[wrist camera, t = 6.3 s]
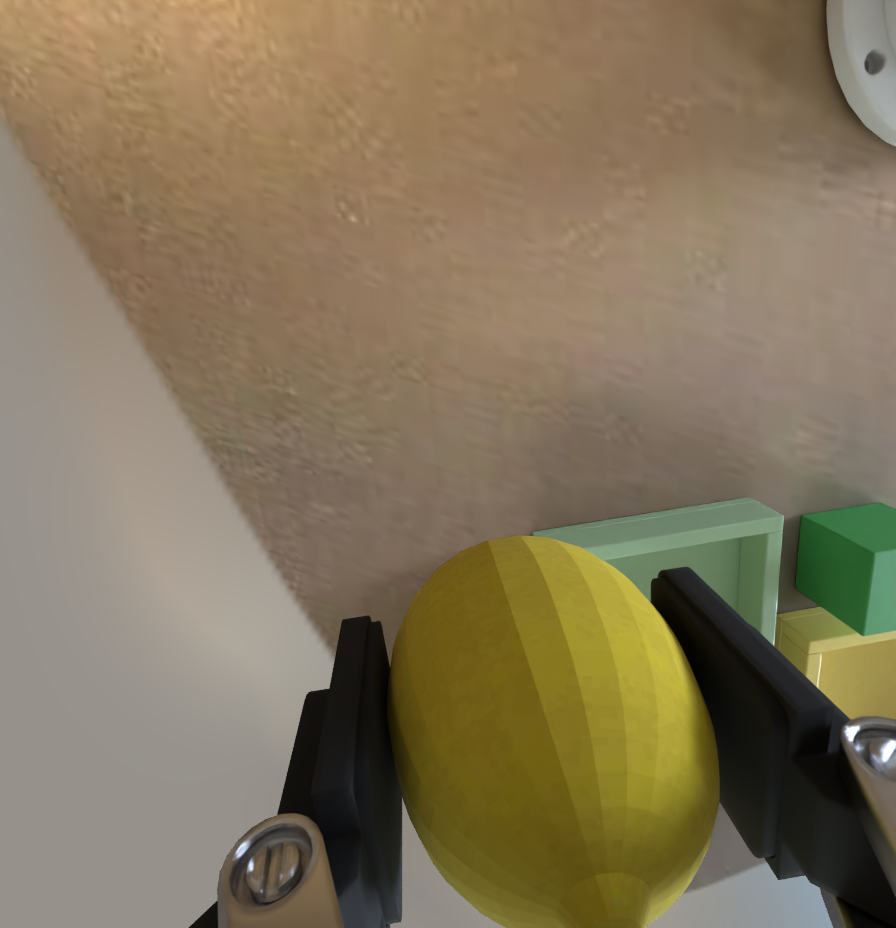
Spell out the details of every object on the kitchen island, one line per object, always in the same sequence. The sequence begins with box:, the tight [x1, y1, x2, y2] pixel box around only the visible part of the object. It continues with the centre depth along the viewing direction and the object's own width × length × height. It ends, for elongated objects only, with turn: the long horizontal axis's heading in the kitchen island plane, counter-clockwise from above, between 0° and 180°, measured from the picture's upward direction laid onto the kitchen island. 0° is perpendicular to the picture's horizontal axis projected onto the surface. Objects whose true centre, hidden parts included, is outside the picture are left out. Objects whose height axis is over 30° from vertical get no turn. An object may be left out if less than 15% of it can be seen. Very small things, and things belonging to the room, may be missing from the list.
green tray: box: [532, 497, 784, 646], centre depth 27 cm, size 12×12×3 cm
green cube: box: [795, 503, 896, 636], centre depth 27 cm, size 4×4×4 cm
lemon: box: [387, 535, 720, 928], centre depth 10 cm, size 6×6×8 cm
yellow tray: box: [774, 606, 896, 720], centre depth 31 cm, size 13×13×3 cm
